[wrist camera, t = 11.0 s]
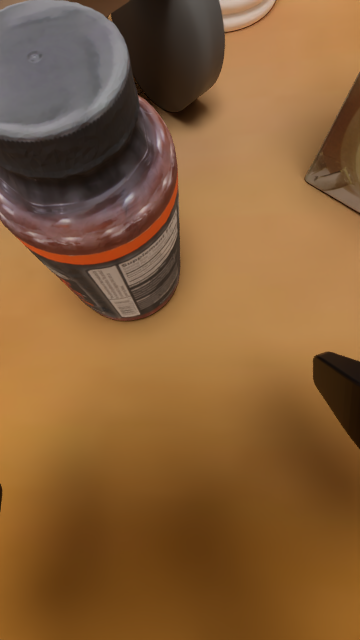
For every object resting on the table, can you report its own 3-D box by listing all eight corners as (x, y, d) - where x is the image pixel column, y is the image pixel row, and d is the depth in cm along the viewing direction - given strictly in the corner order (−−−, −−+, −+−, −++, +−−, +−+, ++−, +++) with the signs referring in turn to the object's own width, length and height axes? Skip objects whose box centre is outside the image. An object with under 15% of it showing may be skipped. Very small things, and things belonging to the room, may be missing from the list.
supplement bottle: (59, 264, 17) (-152, 34, 6) (143, 212, 18) (81, -69, 7) (113, 345, 16) (-38, 228, 5) (201, 285, 17) (231, 75, 6)
